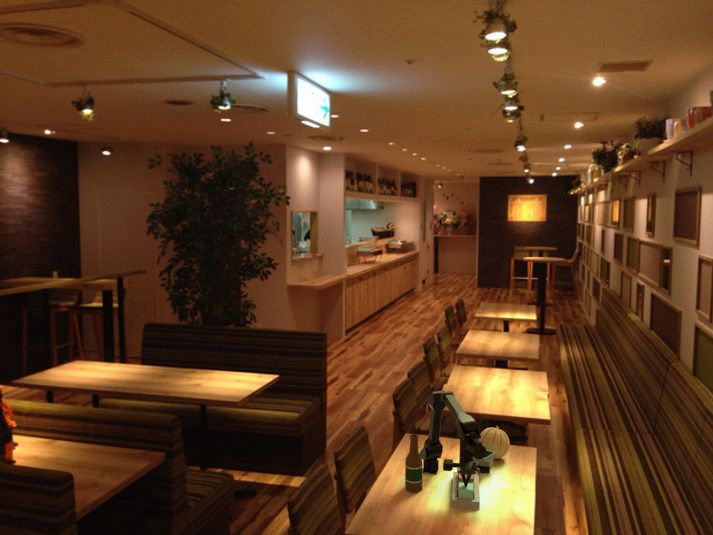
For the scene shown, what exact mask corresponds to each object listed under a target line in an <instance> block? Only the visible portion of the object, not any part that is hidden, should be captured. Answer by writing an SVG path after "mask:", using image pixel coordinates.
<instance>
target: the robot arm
mask: <svg viewBox="0 0 713 535" xmlns="http://www.w3.org/2000/svg"><path fill="white" fill-rule="evenodd" d="M427 400H428V401H427V404H428V406H429V408H430V416H429V417H430V418H429V428H428V437H427V438H426V439H425V440H424V442H423V445H422V446H423V447H422V448H421V450H420V451H418V452H419V454H420V456H421V458H422V465H423V472H422V474H435V475H437V474H438V472H439V470H440V469H439V465H440V464H439V462H440V461H439V460H440V459H441V458H442V454H443V452H444V450H443V449H444V448H443V447H444V446H443V444H442V442H441V440H440V437H441V436H440V435H441V426H442V416H443V410H445V408H447V409H448V411H449V412H450V415H452V417H453V419H454V420H455V428H456V430H457V432H458V433H457V436H458V437H459V453H458V454H459V456H458V458H459V460H458V462H454V459H452V458H451V459H449V458H444V459H443V461H442V462H443V463H442V471H444V472H445V471H446V472H452V471H453V469H455V468H456V472H457V473H459V474H460V475H461V476H462V479H463V482H464V485H465V486H466V487H467V485H468V482H469V480H470V478H471V476H472V475H475V473H476V472H475V471H477V469H480V472H481V473H482V474H481V475H490V474H491V468H490V463H489V462H482V461H480V464H477V462H474V457H475V458H476V459H478V460H480V459H483V458H484V457H485V455H486V452H487V451H486V448H485V447H484V446H483V445H482V442H481V441H479V440H478V439H481V435H480V434H481V431H480V428H479V426H478V423H477V422H476V420H475V419H474V418H473V417H472V416H471V415H470V414H467V413H466V412H465V411H464V409H463V407H462V406H461V404H460V403H459V402H458V400H457V399H456V397H455V395H454V392H453V391H451V390H447V391H445V390H443V389H442V390H434V391H430V392H429V393H428V395H427ZM465 475H467V478H466V477H465Z"/></svg>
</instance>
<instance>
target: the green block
mask: <svg viewBox="0 0 713 535" xmlns="http://www.w3.org/2000/svg"><path fill="white" fill-rule="evenodd" d="M457 489H458V488H457ZM473 492H474V488H473V483H468V485H467V487H466V486H465V485H464V483H462V482H459V489H458V497H457V499H468V500H474V499H473Z"/></svg>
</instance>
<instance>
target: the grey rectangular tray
mask: <svg viewBox="0 0 713 535" xmlns="http://www.w3.org/2000/svg"><path fill="white" fill-rule="evenodd" d="M479 476H480V473H478V472H475V475H473V488H474V492H473V500H468V499H458V489H459V473H457V471H453V473H452V492H451V508H460V509H469V510H470V509H471V510H472V509H473V510H474V509H475V510H480V509H481V508H480V504H481V503H480V501H481V500H480V477H479Z"/></svg>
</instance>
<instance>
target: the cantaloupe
mask: <svg viewBox="0 0 713 535" xmlns="http://www.w3.org/2000/svg"><path fill="white" fill-rule="evenodd" d="M480 433H481V434H480V435H481V439H478V440H479V441H481V442H482V445H483V446H484V447H485V448H486V450H488V451H491V452H494V453H495V455H494V460H500V459H502V458H503V457H505V456H506V455H507V454H508V452H509V449H510V446H511V445H510V444H511V443H510V439H509V436H508V435H507V433H506V432H505V431H504V430H502V429H500V428H499V426H498V425H496V427H493V426H492V427H487V428H485V429H483V430H482V431H480Z"/></svg>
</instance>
